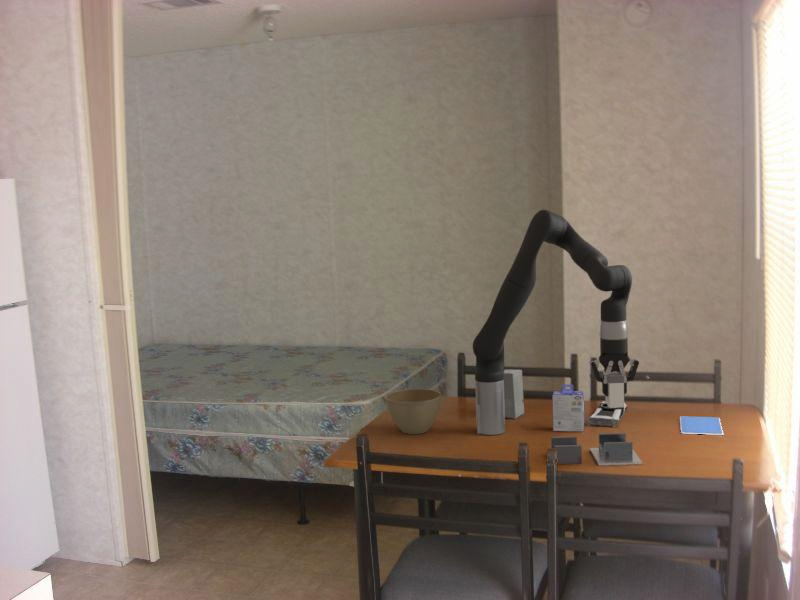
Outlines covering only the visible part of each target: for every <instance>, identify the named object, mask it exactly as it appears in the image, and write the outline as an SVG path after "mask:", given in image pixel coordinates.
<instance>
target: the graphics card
mask: <svg viewBox="0 0 800 600" xmlns="http://www.w3.org/2000/svg"><path fill="white" fill-rule="evenodd" d="M626 409H627V410H628V405H627V404H626V402H624V407H616V408H610V407H609V406H608V405H607V404H606V400H602V402H600V403H599V405H598V407H597V408H596V410H595V411H594V413H593V414H591V415H590V416H589V417H587V422H586V423H587V426H596V425H598V426H597V427H606V426H608V427H609V426H612V427H611V428H617V427H620V425H619V423H620V421H621V420H622V418H623V416H624V415H625V413H626V411H627V410H626ZM625 410H626V411H625ZM624 412H625V413H624ZM623 414H624V415H623ZM621 417H622V418H621ZM620 419H621V420H620ZM619 420H620V421H619ZM617 423H618V424H617ZM589 424H590V425H589ZM616 424H617V425H616ZM613 426H614V427H613ZM615 426H616V427H615Z"/></svg>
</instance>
